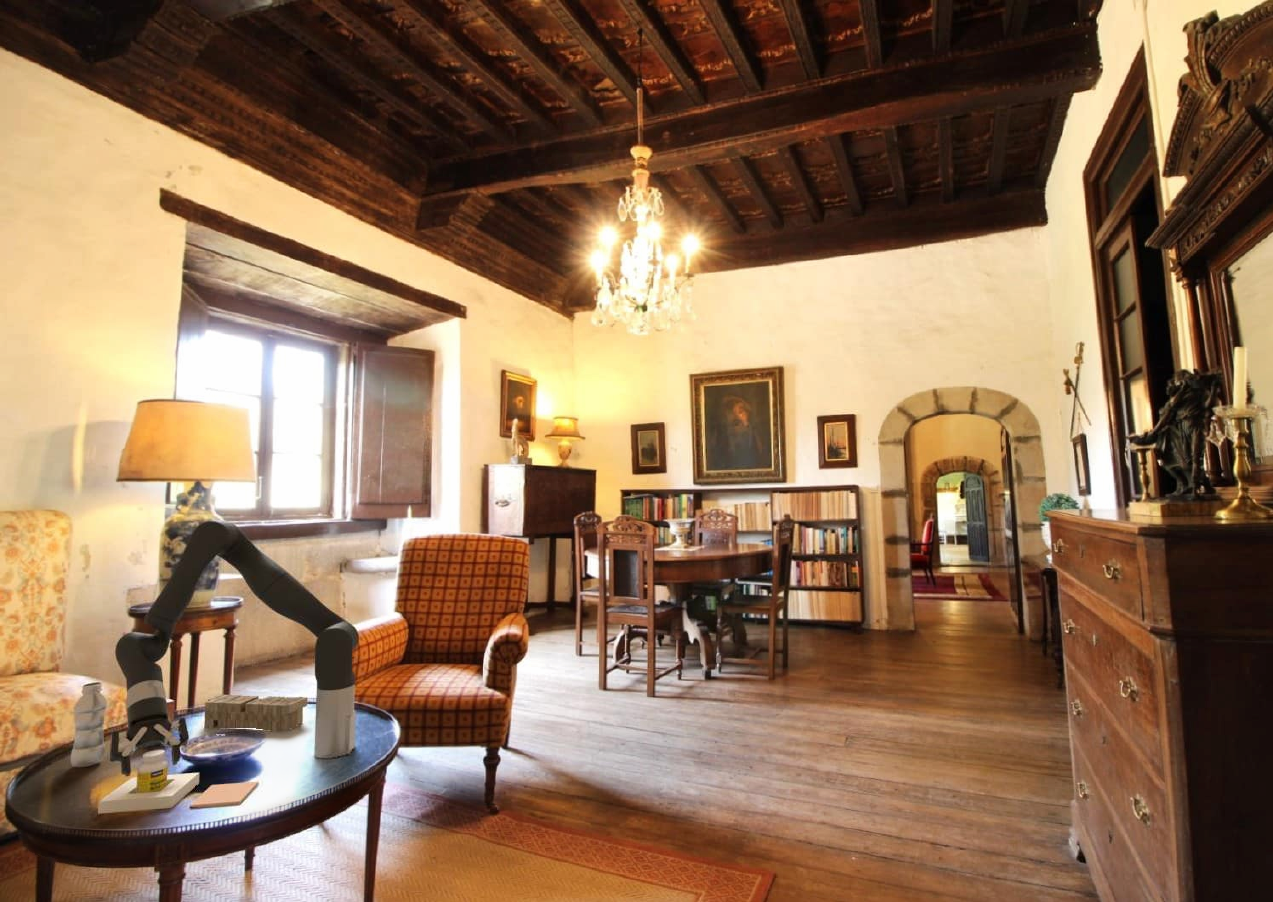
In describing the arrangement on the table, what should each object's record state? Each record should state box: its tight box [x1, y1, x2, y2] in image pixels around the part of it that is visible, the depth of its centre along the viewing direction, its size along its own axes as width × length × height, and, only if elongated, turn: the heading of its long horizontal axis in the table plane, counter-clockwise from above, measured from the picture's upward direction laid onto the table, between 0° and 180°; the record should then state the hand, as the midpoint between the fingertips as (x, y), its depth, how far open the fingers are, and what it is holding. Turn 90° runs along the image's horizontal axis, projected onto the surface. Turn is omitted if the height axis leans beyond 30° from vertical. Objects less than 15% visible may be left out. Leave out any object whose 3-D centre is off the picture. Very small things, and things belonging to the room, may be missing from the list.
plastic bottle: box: [69, 681, 108, 768], centre depth 160 cm, size 6×7×20 cm
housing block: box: [97, 772, 200, 815], centre depth 142 cm, size 14×12×2 cm
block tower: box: [203, 694, 308, 733], centre depth 188 cm, size 8×8×29 cm
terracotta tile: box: [189, 781, 259, 808], centre depth 143 cm, size 10×10×1 cm
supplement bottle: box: [136, 749, 169, 793], centre depth 142 cm, size 5×5×10 cm
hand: (152, 768), depth 142 cm, fingers open, 8 cm apart
